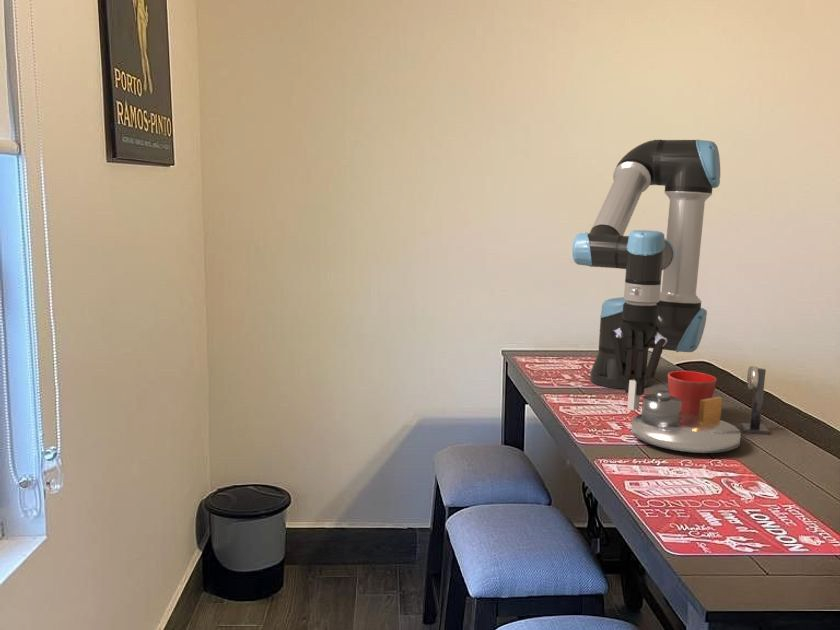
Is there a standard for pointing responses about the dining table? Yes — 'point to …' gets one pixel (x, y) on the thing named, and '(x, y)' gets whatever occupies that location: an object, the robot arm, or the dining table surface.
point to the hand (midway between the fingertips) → (633, 408)
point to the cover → (661, 409)
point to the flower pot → (691, 388)
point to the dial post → (756, 401)
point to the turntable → (692, 431)
